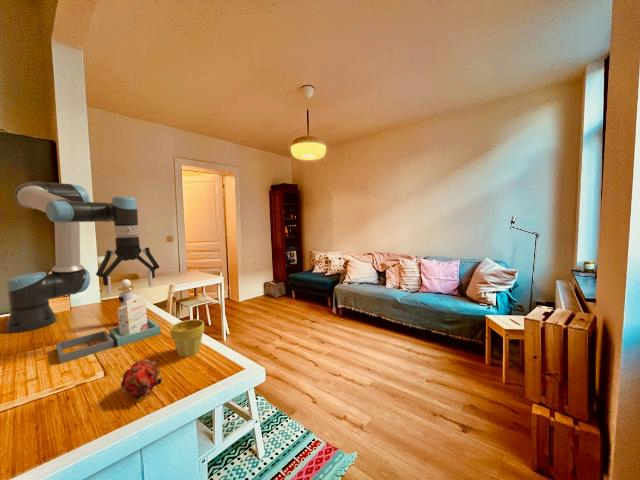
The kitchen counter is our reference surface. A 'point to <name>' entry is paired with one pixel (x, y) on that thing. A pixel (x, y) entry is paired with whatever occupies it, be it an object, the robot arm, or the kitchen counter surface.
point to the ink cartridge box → (132, 316)
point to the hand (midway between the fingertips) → (131, 289)
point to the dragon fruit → (140, 378)
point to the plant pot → (187, 336)
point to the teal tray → (134, 334)
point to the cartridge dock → (84, 351)
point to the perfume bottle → (125, 292)
